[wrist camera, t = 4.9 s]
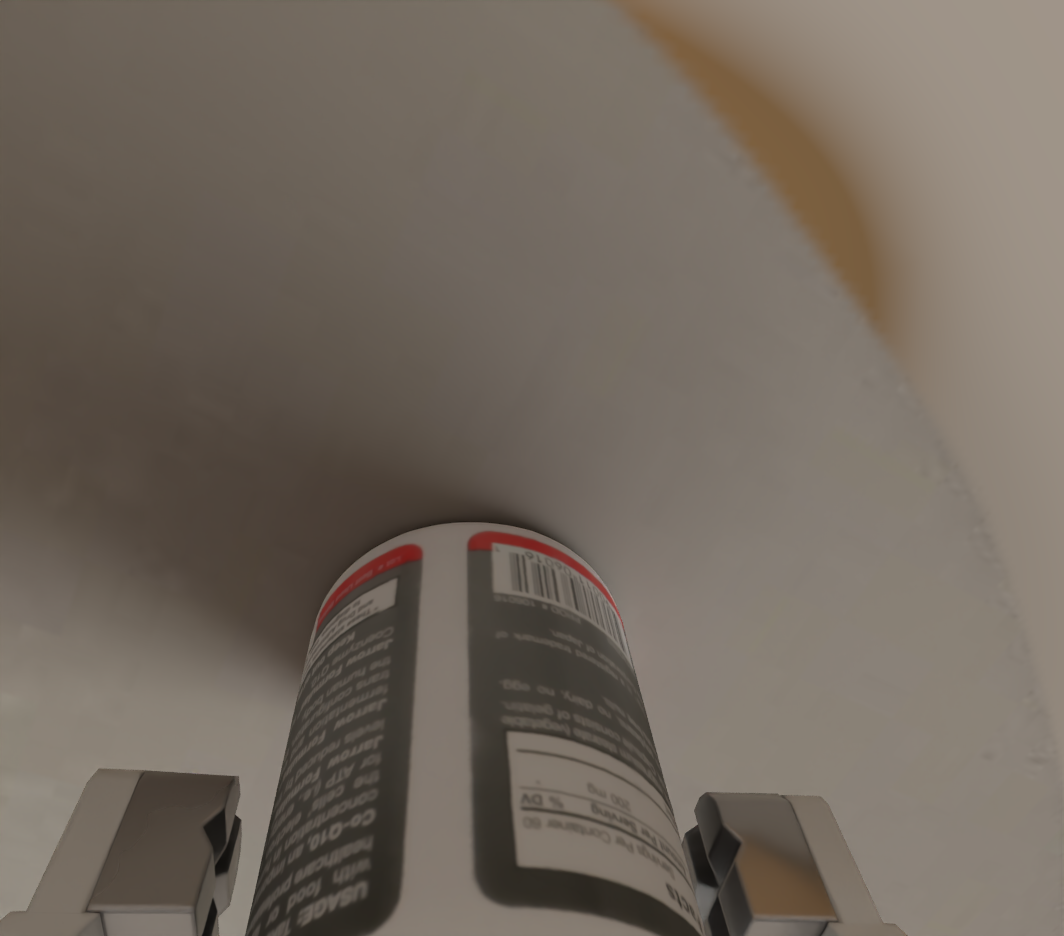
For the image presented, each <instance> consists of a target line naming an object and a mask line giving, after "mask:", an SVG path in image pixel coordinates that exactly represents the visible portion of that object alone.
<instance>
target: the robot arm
mask: <svg viewBox="0 0 1064 936" xmlns="http://www.w3.org/2000/svg"><path fill="white" fill-rule="evenodd" d="M239 798H240V784H239V776H225V775H209V774H192V773H176V772H160V771H146V770H123V769H100V768H99V769H98V770H97V771H96V773H95V774H94V775H93V776H92V777H91V778H90V780H89V781H88V782H87V784H86V786H85V788H84V790H83V792H82V794H81V797H80V799H79V801H78V803H77V805H76V807H75V809H74V811H73V813H72V816H71V818H70V820H69V822H68V824H67V826H66V828H65V830H64V832H63V835H62V837H61V839H60V841H59V843H58V845H57V847H56V849H55V851H54V854H53V856H52V858H51V860H50V862H49V864H48V866H47V868H46V870H45V873H44V875H43V877H42V879H41V881H40V883H39V885H38V887H37V889H36V892H35V894H34V896H33V898H32V900H31V902H30V904H29V906H28V908H27V911H16V912H10V913H8V914H7V915H6V916H5V917H4V918H2V919H1V920H0V936H219V927H218V917H219V916H220V915H221V914H222V913H223V912H224V911H225V910H226V909H227V908H228V907H229V906H230V902H231V897H232V893H233V889H234V885H235V881H236V875H237V869H238V863H239V857H240V850H241V836H242V828H241V819H240V818H238V817H237V816H236V815H235V813H236V810H237V806H238V802H239ZM694 812H695V815H696V819H697V823H698V825H697V826H695V827H694V828H692V829H691V830H689V831H688V832H687V833H685V835H684V838H683V841H682V848H683V852H684V855H685V859H686V863H687V866H688V870H689V874H690V878H691V881H692V885H693V889H694V893H695V897H696V900H697V904H698V908H699V912H700V915H701V919H702V923H703V927H704V931H705V934H706V936H907V935H906V934H905V933H904V932H903V931H902V930H901V929H900V928H899V927H898V926H897V925H896V924H889V923H883V922H882V919H881V917H880V915H879V913H878V911H877V909H876V906H875V904H874V902H873V900H872V898H871V896H870V893H869V891H868V889H867V887H866V885H865V883H864V880H863V878H862V876H861V874H860V872H859V870H858V867H857V865H856V863H855V861H854V859H853V857H852V854H851V852H850V850H849V848H848V846H847V844H846V842H845V839H844V837H843V835H842V833H841V831H840V829H839V826H838V824H837V822H836V820H835V818H834V816H833V813H832V811H831V809H830V807H829V805H828V804H827V803H826V802H825V800H824V799H823V798H822V797H819V796H798V795H779V794H766V793H719V792H706V793H705V794H703V795H702V796H701V797H700V798H699V800H698V803H697V805H696V807H695V810H694Z"/></svg>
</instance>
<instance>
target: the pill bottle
mask: <svg viewBox="0 0 1064 936" xmlns="http://www.w3.org/2000/svg"><path fill="white" fill-rule="evenodd" d="M245 936H706V934H705V931H704V927H703V923H702V919H701V915H700V912H699V908H698V904H697V900H696V897H695V893H694V889H693V885H692V881H691V878H690V874H689V870H688V866H687V863H686V859H685V855H684V852H683V848H682V844H681V840H680V837H679V833H678V829H677V826H676V822H675V818H674V814H673V809H672V806H671V803H670V800H669V796H668V793H667V789H666V785H665V782H664V778H663V774H662V771H661V767H660V763H659V759H658V756H657V752H656V748H655V744H654V741H653V737H652V733H651V729H650V726H649V722H648V718H647V714H646V711H645V707H644V703H643V700H642V696H641V692H640V688H639V685H638V681H637V677H636V673H635V670H634V666H633V662H632V658H631V654H630V651H629V646H628V643H627V638H626V634H625V630H624V627H623V623H622V620H621V618H620V615H619V612H618V609H617V606H616V604H615V602H614V599H613V597H612V595H611V594H610V592H609V590H608V588H607V587H606V585H605V584H604V582H603V581H602V580H601V578H600V577H599V576H598V574H597V573H596V572H595V571H594V570H593V569H592V568H591V567H590V566H589V565H588V564H587V563H586V562H585V561H584V560H583V559H582V558H581V557H579V556H578V555H577V554H576V553H574V552H573V551H571V550H570V549H569V548H567V547H566V546H564V545H562V544H560V543H558V542H556V541H554V540H552V539H550V538H548V537H546V536H544V535H541V534H539V533H536V532H534V531H531V530H527V529H522V528H518V527H514V526H509V525H502V524H494V523H482V522H462V523H448V524H439V525H434V526H429V527H425V528H420V529H416V530H413V531H410V532H407V533H404V534H401V535H399V536H397V537H395V538H392V539H390V540H388V541H386V542H384V543H382V544H380V545H379V546H377V547H375V548H374V549H372V550H370V551H369V552H368V553H366V554H365V555H363V556H362V557H361V558H359V559H358V560H357V561H356V562H354V563H353V564H352V565H351V566H350V567H349V568H348V569H347V570H346V571H345V572H344V573H343V574H342V575H341V576H340V578H339V579H338V580H337V581H336V582H335V584H334V585H333V587H332V588H331V590H330V591H329V593H328V594H327V596H326V598H325V600H324V601H323V604H322V606H321V608H320V610H319V613H318V616H317V618H316V622H315V625H314V629H313V632H312V635H311V639H310V644H309V648H308V652H307V657H306V661H305V667H304V670H303V673H302V679H301V684H300V688H299V692H298V697H297V702H296V706H295V711H294V715H293V719H292V724H291V729H290V733H289V738H288V742H287V747H286V751H285V756H284V761H283V765H282V770H281V774H280V779H279V783H278V788H277V792H276V797H275V801H274V806H273V811H272V815H271V820H270V824H269V829H268V833H267V838H266V842H265V847H264V852H263V856H262V861H261V866H260V870H259V875H258V880H257V884H256V889H255V894H254V898H253V903H252V907H251V912H250V916H249V921H248V925H247V930H246V935H245Z"/></svg>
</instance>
